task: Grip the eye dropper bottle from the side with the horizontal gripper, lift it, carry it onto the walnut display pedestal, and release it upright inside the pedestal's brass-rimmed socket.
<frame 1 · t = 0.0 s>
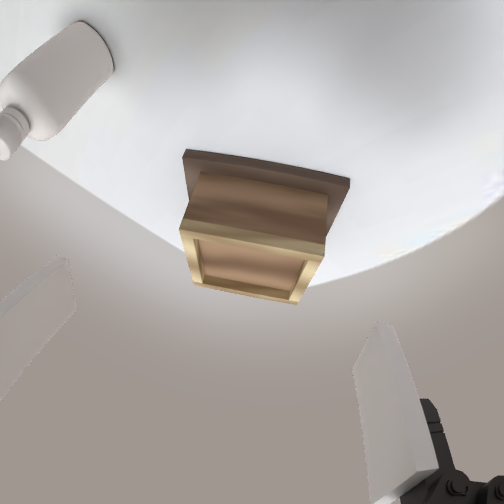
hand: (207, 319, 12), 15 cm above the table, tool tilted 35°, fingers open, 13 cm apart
display pedestal: (260, 211, 31), on the table
eye dropper bottle: (91, 48, 16), on the table
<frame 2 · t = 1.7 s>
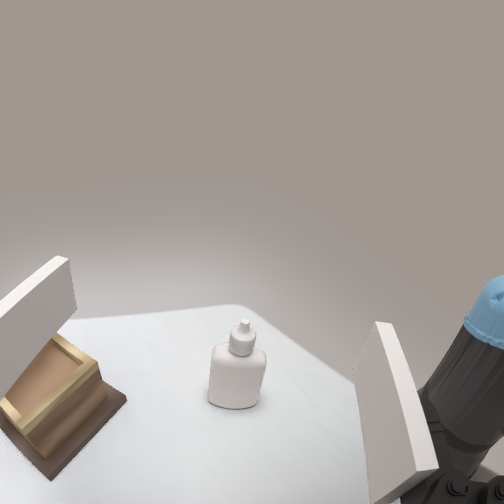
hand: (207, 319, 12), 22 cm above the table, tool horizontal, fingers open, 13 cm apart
display pedestal: (47, 405, 25), on the table
eye dropper bottle: (231, 399, 33), on the table
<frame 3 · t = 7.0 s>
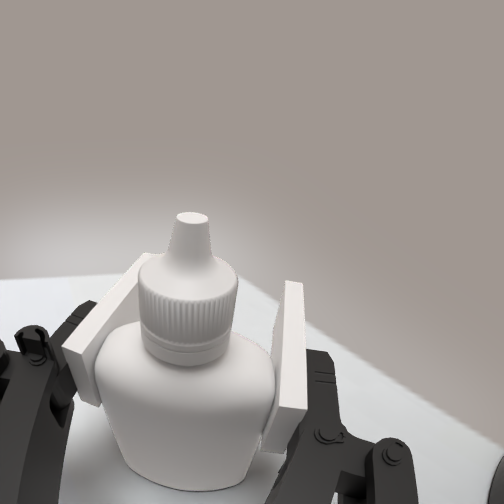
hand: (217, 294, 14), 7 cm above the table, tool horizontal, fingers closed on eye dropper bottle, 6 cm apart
eye dropper bottle: (185, 463, 12), on the table, touching gripper
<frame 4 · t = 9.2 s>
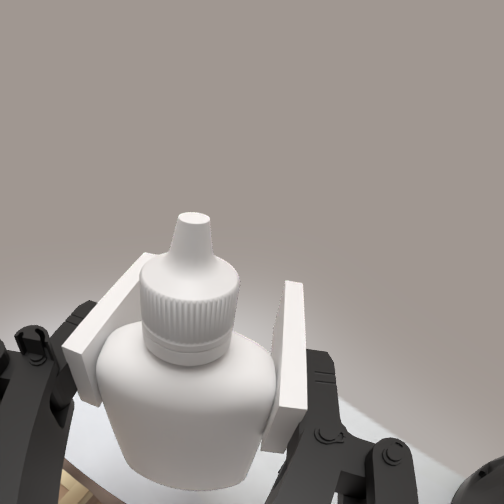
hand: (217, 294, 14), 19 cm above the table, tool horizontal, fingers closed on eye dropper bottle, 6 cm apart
eye dropper bottle: (186, 463, 12), point 12 cm above the table, touching gripper
when the fingers open (15 cm above the table, at t = 11.5 s): eye dropper bottle drops 2 cm, resting on display pedestal.
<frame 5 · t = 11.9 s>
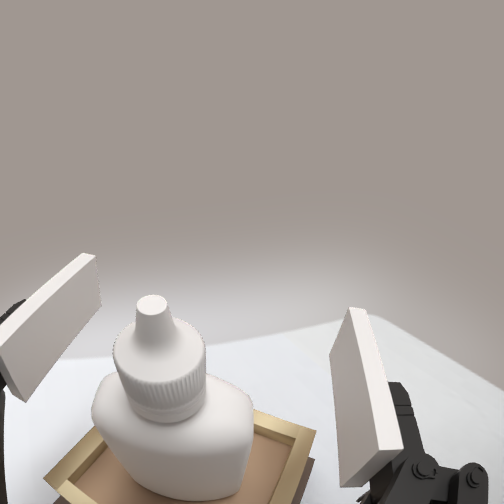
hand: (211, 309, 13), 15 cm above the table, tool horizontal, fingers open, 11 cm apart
display pedestal: (188, 501, 15), on the table
eye dropper bottle: (186, 474, 13), point 6 cm above the table, touching display pedestal
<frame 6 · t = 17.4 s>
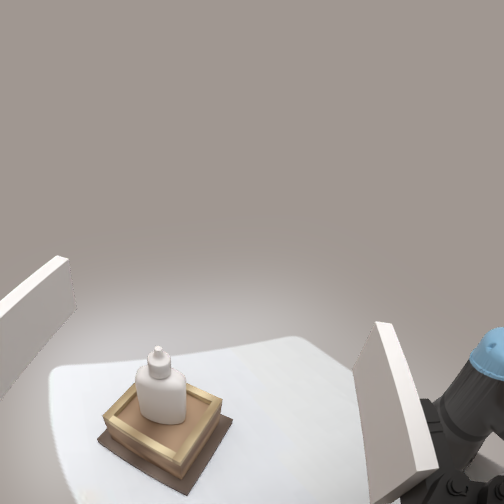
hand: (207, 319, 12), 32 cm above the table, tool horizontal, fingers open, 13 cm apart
display pedestal: (166, 435, 36), on the table
eye dropper bottle: (163, 414, 33), point 6 cm above the table, touching display pedestal
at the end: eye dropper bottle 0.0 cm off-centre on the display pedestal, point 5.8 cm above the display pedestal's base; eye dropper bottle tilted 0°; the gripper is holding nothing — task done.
